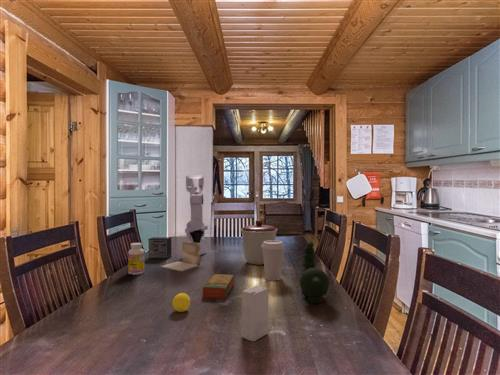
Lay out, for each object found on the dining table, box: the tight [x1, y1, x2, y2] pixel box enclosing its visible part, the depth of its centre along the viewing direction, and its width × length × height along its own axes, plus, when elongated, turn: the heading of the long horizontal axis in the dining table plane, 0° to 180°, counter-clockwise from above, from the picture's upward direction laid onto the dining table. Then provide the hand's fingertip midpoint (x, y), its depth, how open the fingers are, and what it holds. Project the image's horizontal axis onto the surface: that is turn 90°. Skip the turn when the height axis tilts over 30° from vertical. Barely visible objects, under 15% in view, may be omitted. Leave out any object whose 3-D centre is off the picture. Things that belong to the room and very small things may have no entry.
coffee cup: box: [261, 239, 285, 281], centre depth 136 cm, size 10×10×15 cm
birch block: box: [181, 241, 201, 265], centre depth 162 cm, size 4×8×10 cm, turn 57°
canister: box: [240, 219, 278, 266], centre depth 163 cm, size 18×18×21 cm
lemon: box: [171, 292, 191, 313], centre depth 102 cm, size 7×5×5 cm
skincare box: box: [241, 285, 269, 342], centre depth 85 cm, size 6×4×12 cm
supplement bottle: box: [127, 242, 145, 276], centre depth 145 cm, size 7×7×13 cm
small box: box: [147, 236, 173, 260], centre depth 174 cm, size 11×6×10 cm, turn 84°
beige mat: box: [160, 260, 199, 272], centre depth 155 cm, size 11×13×1 cm
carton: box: [202, 273, 235, 300], centre depth 121 cm, size 8×16×4 cm, turn 173°
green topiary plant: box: [299, 241, 330, 304], centre depth 115 cm, size 9×19×25 cm
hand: (196, 245), depth 165 cm, fingers closed
